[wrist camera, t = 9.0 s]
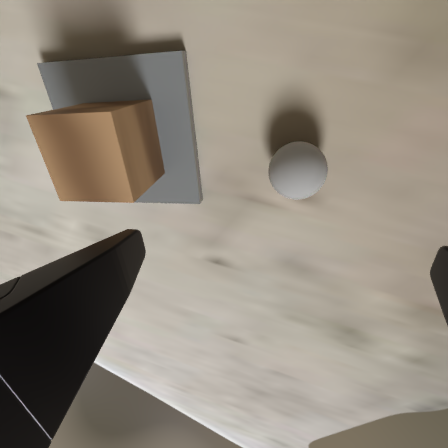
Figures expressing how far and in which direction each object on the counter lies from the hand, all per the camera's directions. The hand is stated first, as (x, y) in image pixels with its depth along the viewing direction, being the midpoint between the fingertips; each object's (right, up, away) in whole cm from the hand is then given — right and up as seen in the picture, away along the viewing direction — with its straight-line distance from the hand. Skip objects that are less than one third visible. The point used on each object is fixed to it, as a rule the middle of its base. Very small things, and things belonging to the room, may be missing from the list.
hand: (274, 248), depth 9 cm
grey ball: (+3, +4, +9) cm, 10 cm away
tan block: (-9, +7, +11) cm, 16 cm away
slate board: (-8, +7, +12) cm, 16 cm away
